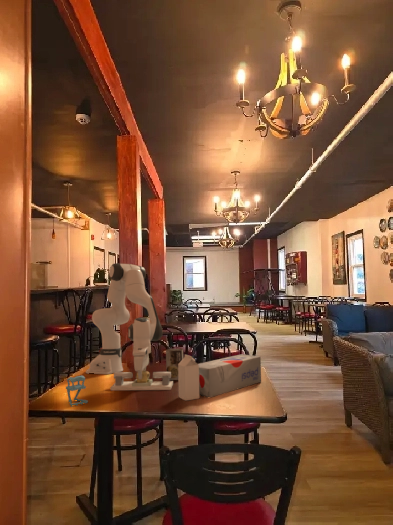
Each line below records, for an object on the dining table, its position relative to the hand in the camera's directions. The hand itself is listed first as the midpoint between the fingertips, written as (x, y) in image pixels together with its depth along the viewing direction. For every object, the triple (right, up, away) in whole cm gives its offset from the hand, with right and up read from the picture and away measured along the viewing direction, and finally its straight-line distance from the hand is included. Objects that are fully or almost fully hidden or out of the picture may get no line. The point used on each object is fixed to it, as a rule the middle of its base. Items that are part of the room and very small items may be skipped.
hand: (142, 376), depth 196 cm
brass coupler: (0, -4, 0) cm, 4 cm away
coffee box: (+16, -6, +17) cm, 24 cm away
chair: (-26, -4, -26) cm, 37 cm away
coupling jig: (0, -5, -1) cm, 5 cm away
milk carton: (+24, -3, -22) cm, 33 cm away
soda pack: (+44, -4, -5) cm, 44 cm away
